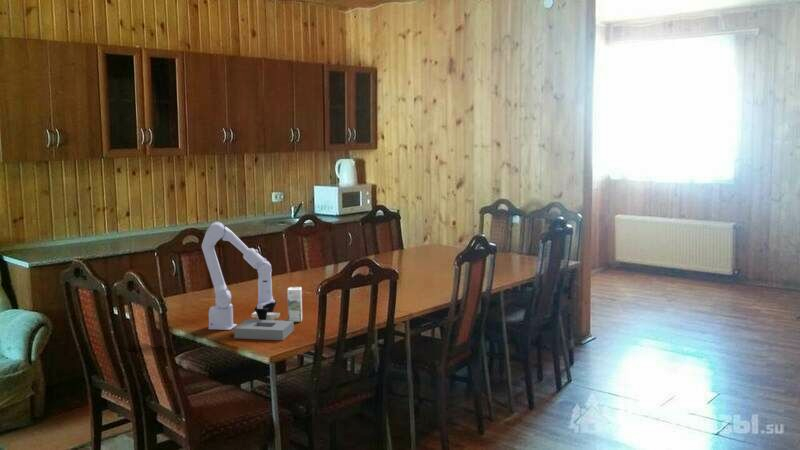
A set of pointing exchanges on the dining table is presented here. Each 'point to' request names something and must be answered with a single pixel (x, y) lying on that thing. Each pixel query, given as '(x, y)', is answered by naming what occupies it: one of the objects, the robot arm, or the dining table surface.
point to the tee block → (269, 315)
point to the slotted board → (264, 329)
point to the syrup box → (294, 304)
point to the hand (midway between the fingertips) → (265, 321)
